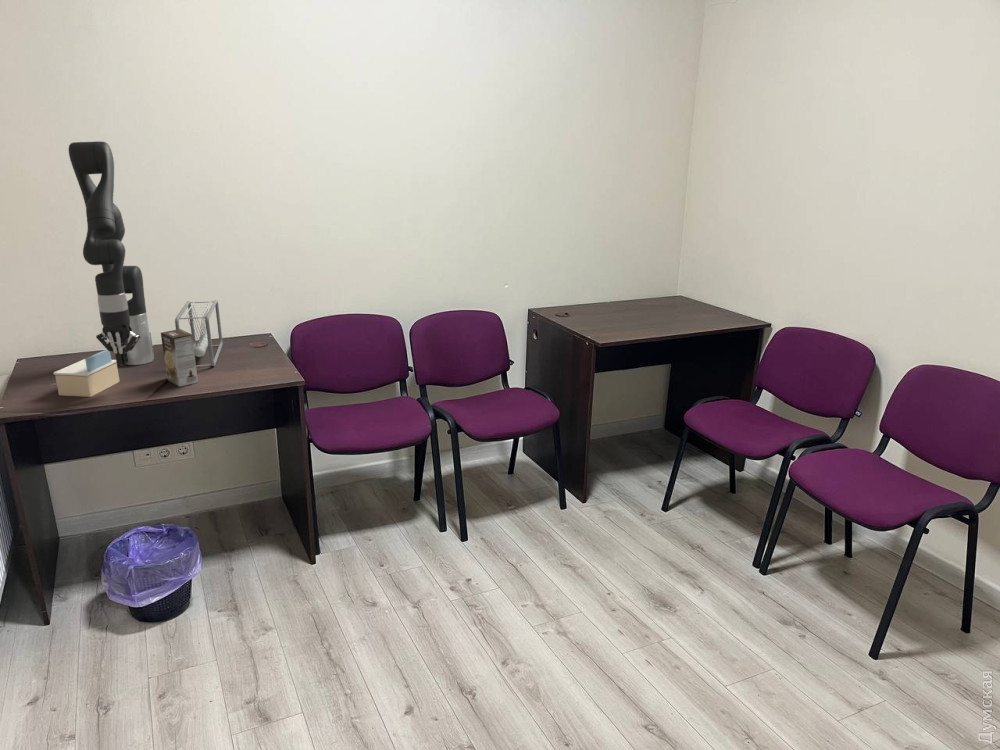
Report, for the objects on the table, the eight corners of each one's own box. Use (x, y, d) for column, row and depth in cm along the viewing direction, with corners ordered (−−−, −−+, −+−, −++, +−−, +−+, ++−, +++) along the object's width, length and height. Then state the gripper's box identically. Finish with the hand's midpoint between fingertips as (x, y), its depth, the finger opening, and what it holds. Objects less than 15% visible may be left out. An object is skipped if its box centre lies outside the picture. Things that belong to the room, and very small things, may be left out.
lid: (86, 360, 220) (83, 346, 219) (117, 361, 219) (115, 347, 218) (53, 374, 207) (50, 359, 205) (87, 376, 206) (84, 361, 204)
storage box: (90, 382, 222) (86, 361, 220) (120, 384, 221) (116, 362, 219) (59, 397, 209) (55, 375, 207) (91, 399, 208) (87, 376, 206)
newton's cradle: (193, 346, 263) (187, 299, 257) (223, 344, 266) (217, 298, 260) (181, 370, 235) (174, 318, 230) (214, 368, 238) (208, 317, 233)
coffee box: (166, 380, 225) (159, 332, 220) (186, 376, 230) (179, 328, 225) (179, 387, 219) (172, 337, 214) (199, 382, 224) (193, 333, 219)
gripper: (142, 306, 209) (150, 362, 214) (100, 304, 210) (110, 360, 215) (127, 312, 202) (136, 369, 207) (84, 310, 203) (94, 367, 208)
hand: (122, 364), depth 211 cm, fingers closed
